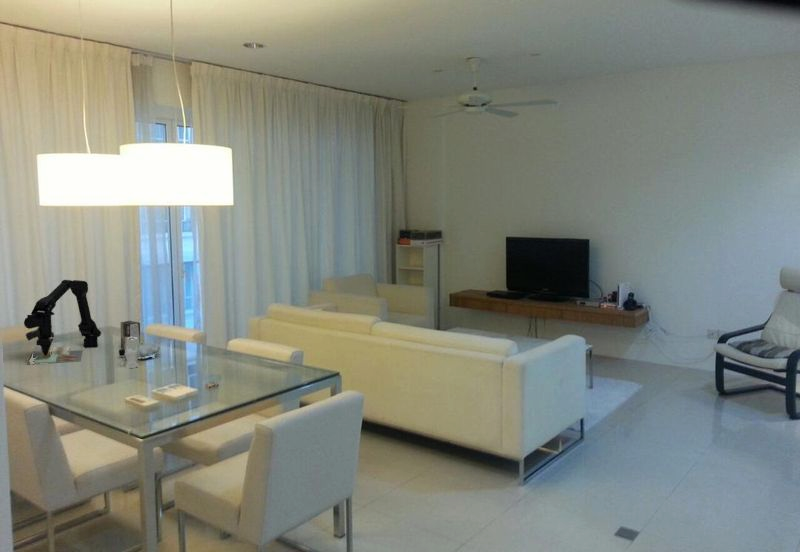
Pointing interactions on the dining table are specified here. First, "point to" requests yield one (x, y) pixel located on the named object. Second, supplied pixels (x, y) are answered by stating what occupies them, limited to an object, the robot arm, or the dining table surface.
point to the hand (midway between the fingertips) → (46, 354)
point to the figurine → (144, 350)
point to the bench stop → (36, 351)
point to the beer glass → (132, 350)
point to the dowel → (47, 354)
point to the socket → (68, 357)
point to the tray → (45, 359)
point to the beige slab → (61, 351)
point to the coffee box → (129, 331)
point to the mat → (78, 358)
